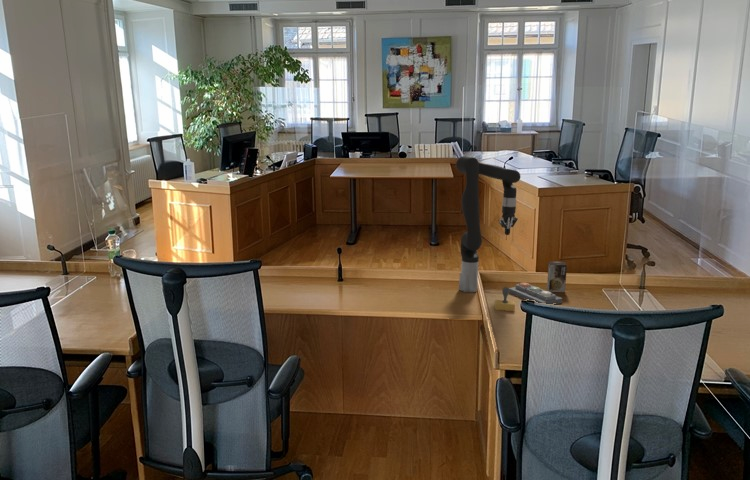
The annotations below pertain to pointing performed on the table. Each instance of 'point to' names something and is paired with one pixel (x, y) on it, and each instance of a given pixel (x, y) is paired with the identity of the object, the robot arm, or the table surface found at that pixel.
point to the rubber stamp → (505, 302)
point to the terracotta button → (524, 285)
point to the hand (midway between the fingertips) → (507, 234)
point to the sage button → (535, 289)
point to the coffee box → (556, 277)
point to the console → (534, 295)
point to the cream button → (546, 293)
